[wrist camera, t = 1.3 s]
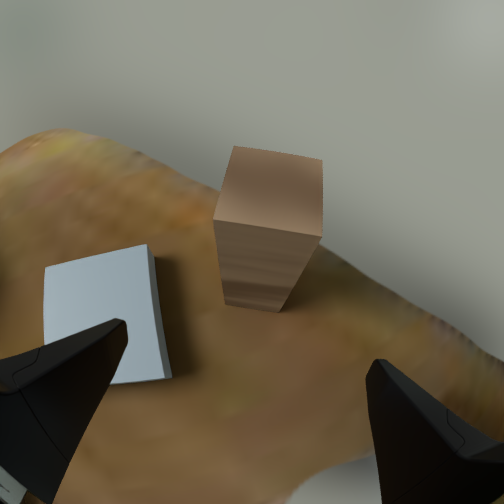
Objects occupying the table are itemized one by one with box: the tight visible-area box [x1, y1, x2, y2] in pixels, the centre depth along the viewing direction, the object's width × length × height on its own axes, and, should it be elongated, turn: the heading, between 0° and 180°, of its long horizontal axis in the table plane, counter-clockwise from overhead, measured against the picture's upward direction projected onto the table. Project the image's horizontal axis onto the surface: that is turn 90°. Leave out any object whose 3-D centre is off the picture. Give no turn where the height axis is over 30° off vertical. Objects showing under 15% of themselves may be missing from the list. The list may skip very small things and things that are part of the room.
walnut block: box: [213, 146, 323, 313], centre depth 18 cm, size 4×4×13 cm
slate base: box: [44, 244, 172, 385], centre depth 20 cm, size 11×11×2 cm
